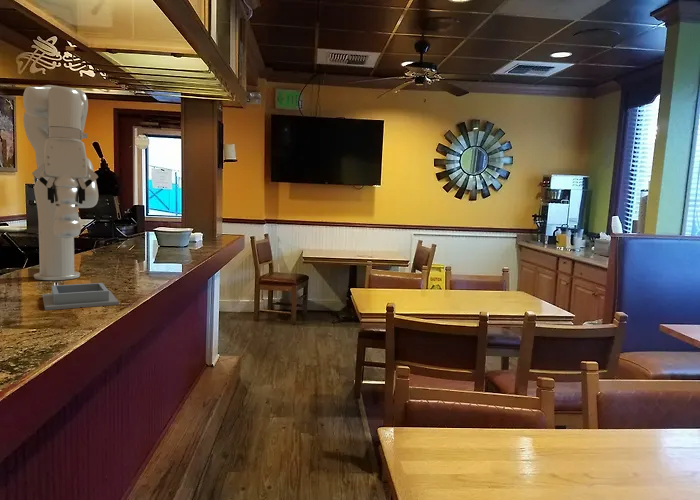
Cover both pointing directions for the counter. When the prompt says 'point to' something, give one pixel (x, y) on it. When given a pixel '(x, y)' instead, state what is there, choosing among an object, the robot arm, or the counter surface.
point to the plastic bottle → (66, 207)
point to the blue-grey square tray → (78, 296)
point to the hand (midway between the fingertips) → (66, 202)
